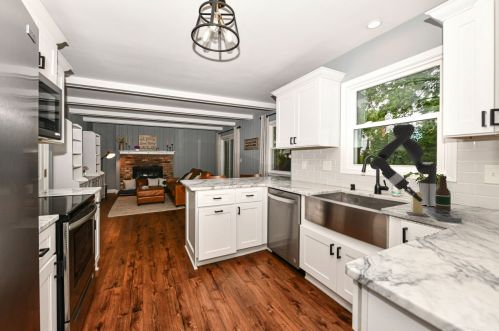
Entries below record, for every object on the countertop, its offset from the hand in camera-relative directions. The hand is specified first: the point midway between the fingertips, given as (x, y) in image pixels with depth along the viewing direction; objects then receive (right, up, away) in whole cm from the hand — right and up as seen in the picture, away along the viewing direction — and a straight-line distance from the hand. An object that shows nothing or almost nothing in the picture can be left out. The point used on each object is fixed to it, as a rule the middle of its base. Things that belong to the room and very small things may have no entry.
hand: (420, 200), depth 134 cm
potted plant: (+23, -9, +10) cm, 27 cm away
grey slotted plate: (+9, -9, -5) cm, 14 cm away
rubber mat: (-1, -9, +1) cm, 9 cm away
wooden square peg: (-1, -9, +1) cm, 9 cm away
